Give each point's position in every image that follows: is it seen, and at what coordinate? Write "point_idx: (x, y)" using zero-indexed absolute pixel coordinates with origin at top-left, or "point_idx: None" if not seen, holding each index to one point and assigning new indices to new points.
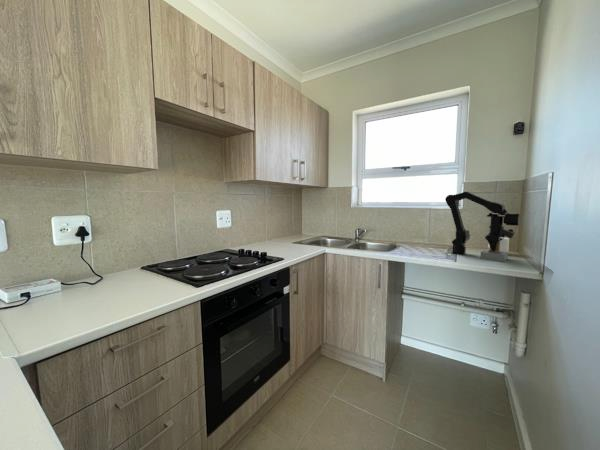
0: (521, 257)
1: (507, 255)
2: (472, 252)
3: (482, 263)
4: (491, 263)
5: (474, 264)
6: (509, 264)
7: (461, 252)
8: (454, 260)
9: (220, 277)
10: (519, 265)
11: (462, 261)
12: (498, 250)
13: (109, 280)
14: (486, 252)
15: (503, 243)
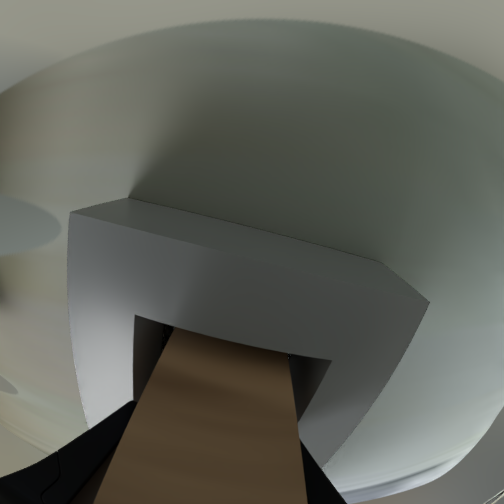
0: (11, 87)
1: (131, 211)
2: (66, 425)
3: (472, 389)
4: (469, 351)
5: (489, 405)
6: (475, 224)
7: None
8: (414, 475)
9: (501, 492)
10: (476, 142)
11: (432, 455)
12: (264, 406)
13: (495, 501)
14: (317, 460)
15: None
